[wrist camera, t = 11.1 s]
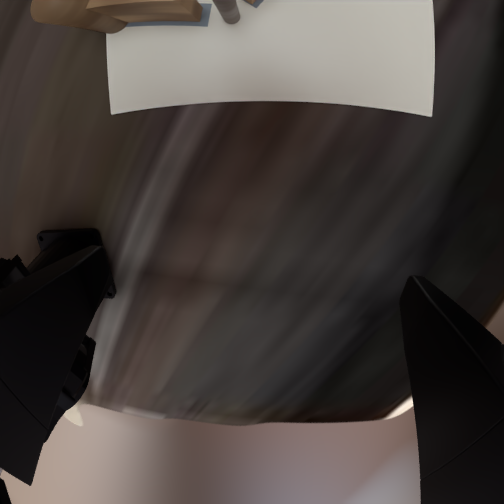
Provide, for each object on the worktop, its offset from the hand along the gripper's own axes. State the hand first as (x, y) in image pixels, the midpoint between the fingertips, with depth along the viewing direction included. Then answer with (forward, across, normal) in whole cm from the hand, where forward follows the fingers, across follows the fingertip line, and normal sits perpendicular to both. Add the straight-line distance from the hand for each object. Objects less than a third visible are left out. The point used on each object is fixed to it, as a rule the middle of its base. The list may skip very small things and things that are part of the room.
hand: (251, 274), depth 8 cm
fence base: (+12, +7, -10) cm, 17 cm away
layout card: (+13, 0, -12) cm, 18 cm away
